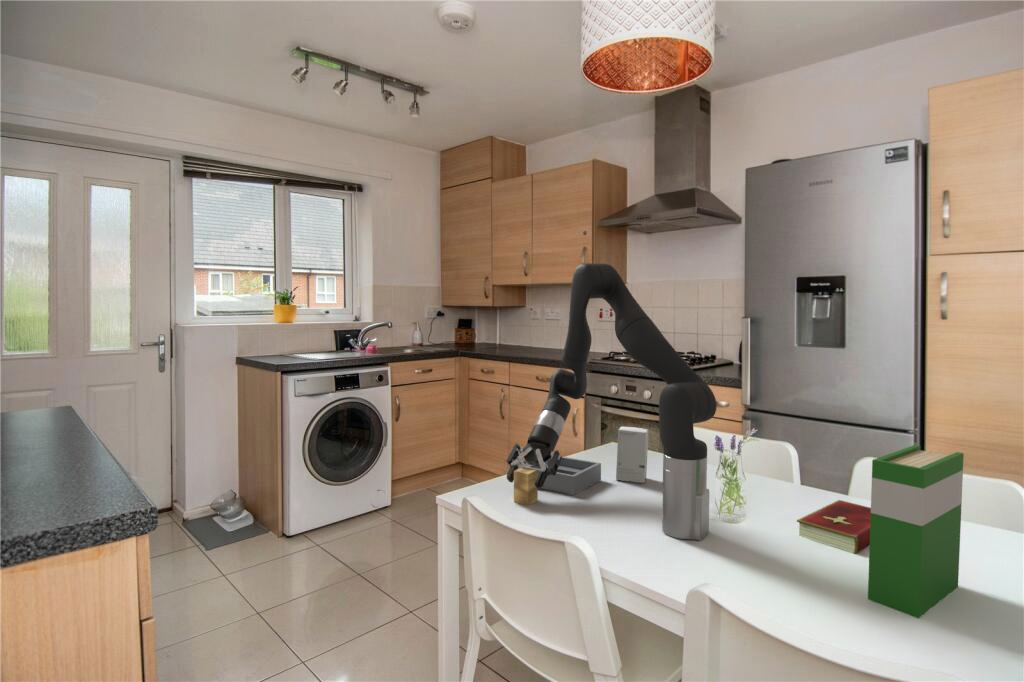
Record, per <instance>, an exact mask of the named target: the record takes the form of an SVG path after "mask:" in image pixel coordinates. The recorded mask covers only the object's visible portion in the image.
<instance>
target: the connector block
mask: <svg viewBox="0 0 1024 682" xmlns="http://www.w3.org/2000/svg"><path fill="white" fill-rule="evenodd" d="M537 477H538V470H536V469H530V468H525V466H522V467H521V468H520V469H518V470H515V471H514V480H513V503H517V504H522V505H525V506H530V505H531V504H533V502H534V503H536V502H538V497H539V495H538V493H539V492H538V491H539V490H538V489H539V488H537V487H536V486H535V481H536V479H537Z"/></svg>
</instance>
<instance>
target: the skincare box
mask: <svg viewBox="0 0 1024 682" xmlns="http://www.w3.org/2000/svg"><path fill="white" fill-rule="evenodd" d="M649 431H650V430H649V429H648V428H640V427H633V426H623V425H622V426H620V427H619V428H618V432H617V433H618V434H617V447H616V448H617V452H616V467H615V469H616V472H615V475H616V476H615V479H616V481H618V480H621V481H622V482H629V481H631V483H639V484H644V483H645V481H646V480H645V479H647V470H648V469H647V468H648V449H649V448H648V447H649Z"/></svg>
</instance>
